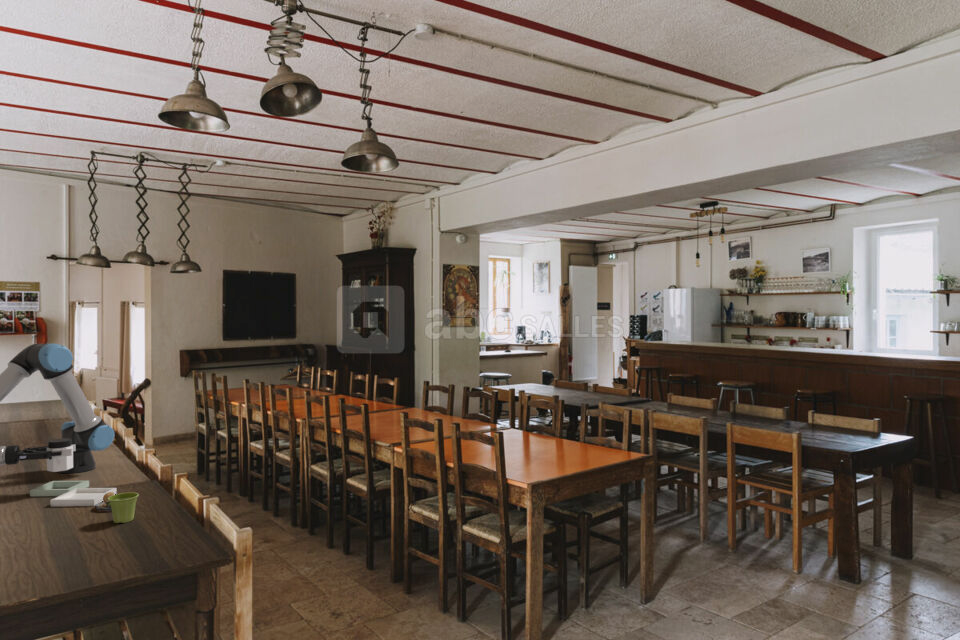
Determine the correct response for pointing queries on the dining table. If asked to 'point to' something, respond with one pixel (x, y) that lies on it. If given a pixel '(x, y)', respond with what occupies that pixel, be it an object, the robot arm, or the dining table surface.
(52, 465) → the jar
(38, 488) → the pale green square frame
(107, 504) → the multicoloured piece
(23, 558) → the dining table surface
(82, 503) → the tray
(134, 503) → the plant pot
